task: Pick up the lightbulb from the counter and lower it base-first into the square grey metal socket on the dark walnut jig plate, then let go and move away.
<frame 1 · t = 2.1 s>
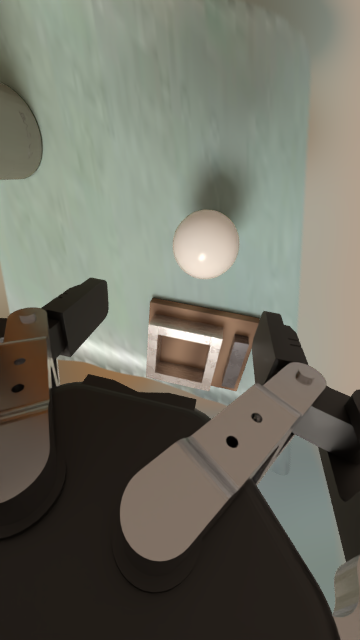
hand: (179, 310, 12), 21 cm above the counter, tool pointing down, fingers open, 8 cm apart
jig: (197, 344, 39), on the counter
lightbulb: (211, 229, 30), on the counter
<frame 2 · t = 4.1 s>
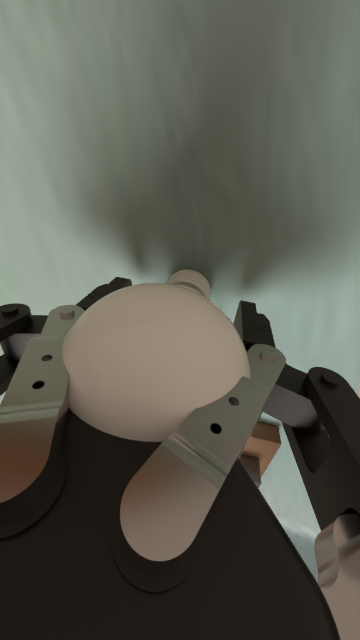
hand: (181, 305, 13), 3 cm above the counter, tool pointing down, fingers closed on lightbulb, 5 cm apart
jig: (175, 448, 24), on the counter
lightbulb: (190, 285, 15), on the counter, touching gripper
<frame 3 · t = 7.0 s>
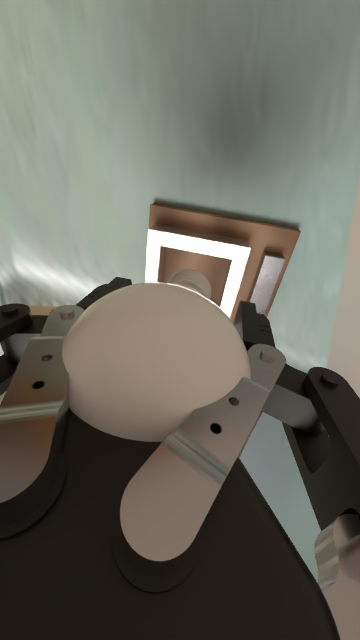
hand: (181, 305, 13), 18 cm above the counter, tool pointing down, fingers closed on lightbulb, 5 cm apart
jig: (211, 274, 30), on the counter
lightbulb: (190, 284, 15), point 15 cm above the counter, touching gripper
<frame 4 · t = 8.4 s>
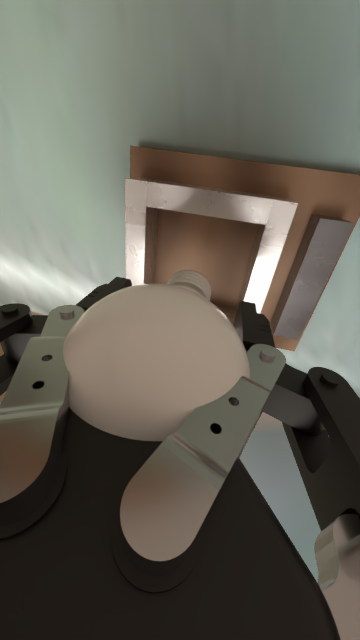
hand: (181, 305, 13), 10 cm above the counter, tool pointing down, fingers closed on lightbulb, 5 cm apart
jig: (225, 258, 21), on the counter
lightbulb: (190, 285, 15), point 7 cm above the counter, touching gripper
when the fingers open (6 cm above the counter, at t = 9.7 s): lightbulb drops 2 cm, resting on jig.
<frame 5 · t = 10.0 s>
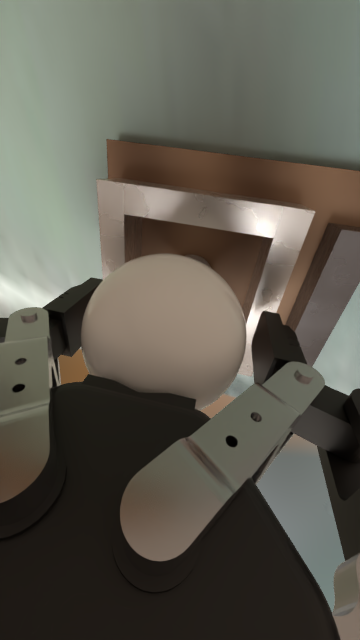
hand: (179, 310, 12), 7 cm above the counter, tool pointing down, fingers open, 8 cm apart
jig: (223, 273, 18), on the counter
lightbulb: (193, 270, 17), point 1 cm above the counter, touching jig
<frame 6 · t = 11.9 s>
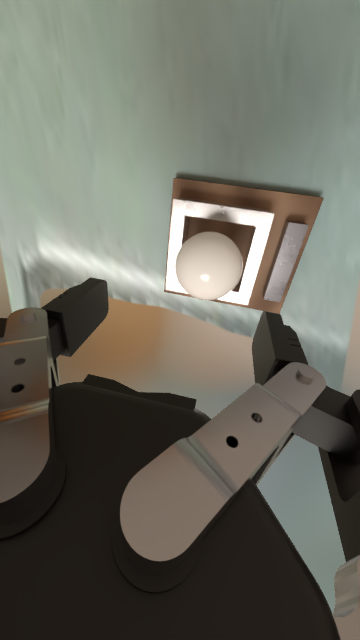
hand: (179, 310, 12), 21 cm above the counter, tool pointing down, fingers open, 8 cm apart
jig: (231, 249, 31), on the counter
lightbulb: (215, 246, 30), point 1 cm above the counter, touching jig
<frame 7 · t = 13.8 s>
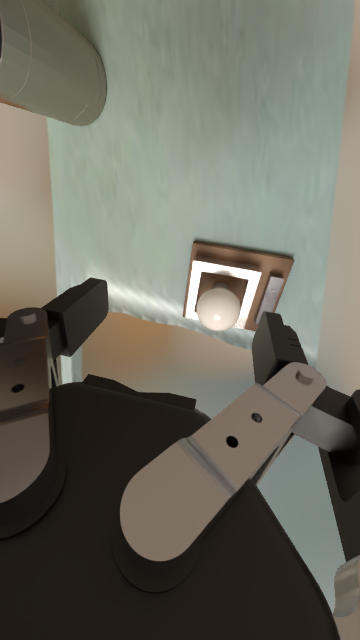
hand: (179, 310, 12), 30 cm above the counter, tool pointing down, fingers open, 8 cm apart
jig: (232, 288, 43), on the counter
lightbulb: (220, 287, 42), point 1 cm above the counter, touching jig
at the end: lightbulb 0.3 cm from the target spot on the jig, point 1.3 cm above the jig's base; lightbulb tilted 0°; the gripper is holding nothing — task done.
